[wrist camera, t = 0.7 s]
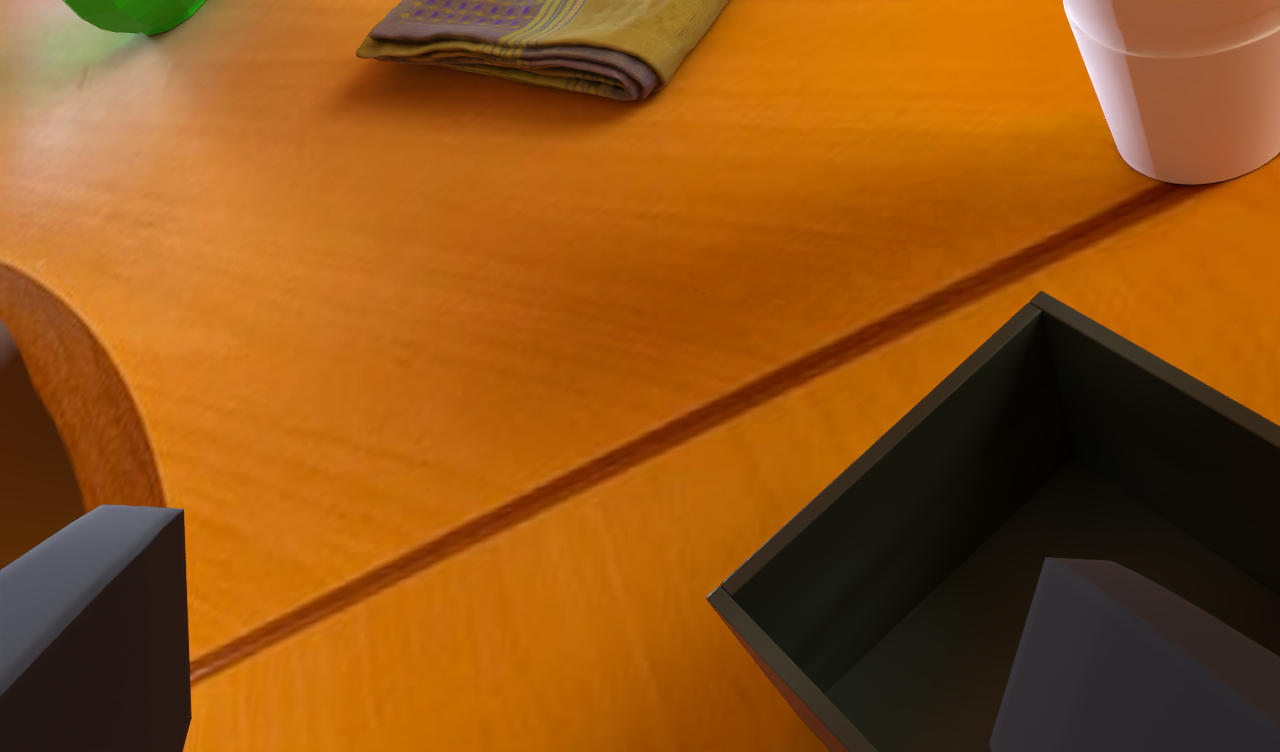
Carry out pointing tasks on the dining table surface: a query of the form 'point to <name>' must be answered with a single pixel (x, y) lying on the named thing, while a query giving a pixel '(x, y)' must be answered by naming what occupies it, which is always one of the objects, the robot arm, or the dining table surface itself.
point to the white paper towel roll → (1185, 82)
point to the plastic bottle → (135, 14)
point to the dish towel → (549, 40)
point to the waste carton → (1006, 531)
